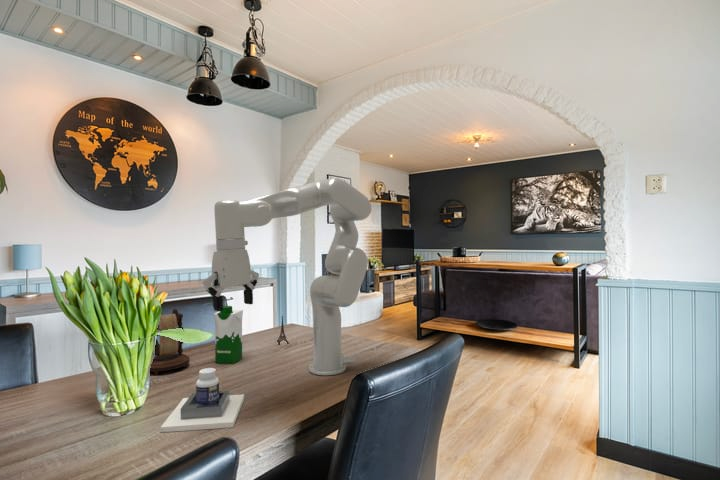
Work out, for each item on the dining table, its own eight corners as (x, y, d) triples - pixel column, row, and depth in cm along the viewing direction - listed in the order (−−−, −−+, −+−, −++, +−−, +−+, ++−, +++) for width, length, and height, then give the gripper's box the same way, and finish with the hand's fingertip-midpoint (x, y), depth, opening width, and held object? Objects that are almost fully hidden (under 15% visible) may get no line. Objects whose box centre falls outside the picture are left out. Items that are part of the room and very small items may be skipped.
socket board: (244, 398, 104) (244, 394, 104) (233, 427, 88) (233, 422, 88) (183, 402, 102) (183, 398, 102) (160, 432, 86) (160, 427, 86)
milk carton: (211, 364, 133) (211, 307, 133) (223, 356, 142) (223, 303, 142) (235, 364, 132) (235, 308, 132) (245, 356, 141) (245, 303, 141)
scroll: (150, 379, 119) (150, 316, 119) (135, 368, 129) (134, 310, 129) (196, 367, 130) (196, 309, 130) (179, 358, 140) (178, 304, 140)
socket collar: (229, 400, 100) (229, 390, 100) (221, 416, 91) (221, 406, 91) (192, 402, 99) (192, 393, 99) (180, 419, 90) (180, 408, 90)
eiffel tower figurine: (305, 343, 160) (304, 312, 160) (291, 350, 151) (290, 317, 151) (276, 340, 167) (276, 310, 167) (261, 346, 158) (261, 314, 158)
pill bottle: (210, 414, 92) (210, 374, 92) (191, 412, 93) (191, 373, 93) (223, 405, 97) (223, 367, 97) (204, 403, 98) (204, 366, 98)
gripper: (248, 243, 113) (251, 300, 113) (193, 247, 99) (197, 312, 99) (264, 243, 108) (267, 302, 109) (210, 247, 94) (213, 315, 95)
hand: (234, 307), depth 104 cm, fingers open, 9 cm apart
